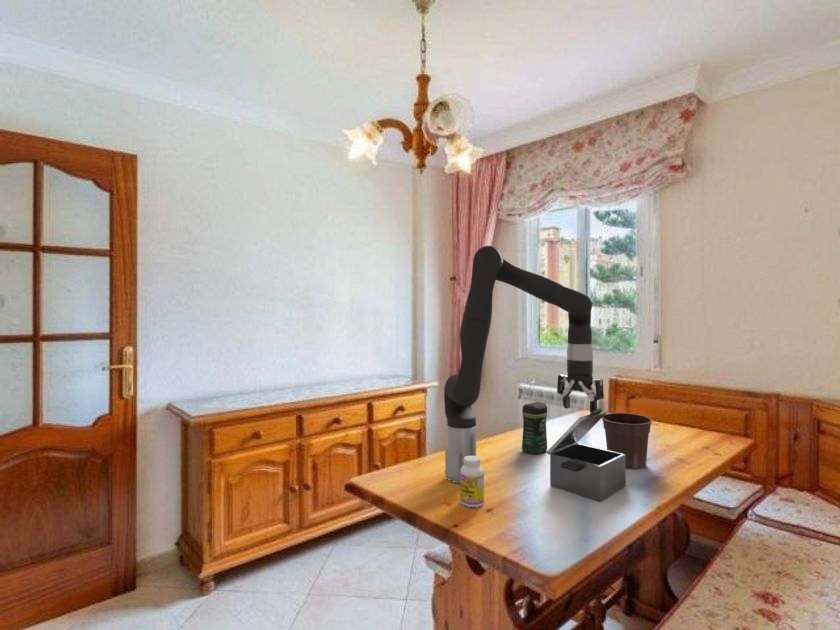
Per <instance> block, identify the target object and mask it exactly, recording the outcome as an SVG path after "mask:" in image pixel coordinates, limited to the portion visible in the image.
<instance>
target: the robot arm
mask: <svg viewBox="0 0 840 630" xmlns="http://www.w3.org/2000/svg"><path fill="white" fill-rule="evenodd" d="M471 271H472V273H471V281H470V287H469V291H468V295H467V298H466V302H465V306H464V310H463V314H462V319H461V325H460V329H459V344H460V352H461V353H460V354H461V355H460V356H461V361H460V366H459V371H458V373H456V374H453V375H451V376H450V377H448V379H447V380H446V381H445V384H444V389H443V391H444V394H443V397H444V398H443V400H444V414H445V418H446V422H447V425H446V427H447V428H446V433H447V436H446V439H447V444H446V445H447V446H446V447H447V448H446V449H445V452H444V455H445V457H444V458H445V459H444V460H445V461H444V465H445V467H444V468H445V470H444V474H445V478H447V479H450V480H452V481H455V482H457V483H456V484H458V483H460V470H461V468H462V466H464V465H465V464H464V457H466V456H477V418H476V416H475V415H476V414H474V412H473V409H472V405H474V404H475V402H477V400H478V398H479V396H480V392H481V385H482V384H481V383H482V372H483V371H482V370H483V364H484V358H485V354H486V348H487V343H488V338H489V333H490V329H491V325H492V316H493V295H494V294H493V293H494V288H495V283H496V281H498V282H502V283H505V284H506V285H507V284H508V285H510V286H512V287H515V288H517V289H519V290H521V291H522V292H525V293H526V294H529V295H530V296H533V297H535V298H536V299H539V300H541V301H543V302H544V303H545V302H546V303H548V304H551V305H554V306H556V307H557V308H559V309H561V310H564V312H567V315H568V318H567V319H568V329H567V347H566V372H567V375H566V374H559V375H558V376H557V386H556V387H557V389H556V392H557V394H559V395H561V396H562V406H563V407H564V409H566V410H568V409H570V408H571V396H570V395H571V394H572V393H573V391H574V392H581V393H585V395H587V397H588V398H589V400H590V401H589V414H590V413H591V412H592V411H594V410H598V401H599V400H603V399H604V398H605V397H604V396H605V395H604V380H603V379H602V378H599V379H595V378H593V373H594V371H593V370H594V367H593V365H594V359H593V358H594V354H593V335H592V334H593V332H592V331H593V330H592V327H591V326H592V325H591V324H592V323H591V322H592V321H591V320H592V308H593V301H592V299H591V298H590V297H589V296H588V295H586V294H585V293H583V292H580V291H577V290H574V289H573V288H569V287H567V286H565V285H563V284H562V283H561V282H560V283H559V282H557V281H556V280H553V279H551V278H549V277H546V276H544V275H542V274H538V273H535V272H533V271H529V270H525V269H522V268H520V267H519V266H516V265H513V263H511V262H509V261H507V260H506V259H504V258H503V256H502V255H501V252H500V251H499V250H498V249H497V248H495V247H494V246H492V245H484V246H481V247H480V248H479V249H478V250H476V252H475V253H474V256H473V259H472V269H471ZM566 382H567V386H566ZM592 385H593V386H594V387H595V389H594V387H593V386H592ZM447 479H446V480H447ZM450 480H449V481H450ZM452 481H451V482H452ZM455 482H454V483H455Z"/></svg>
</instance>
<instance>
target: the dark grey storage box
mask: <svg viewBox="0 0 840 630" xmlns="http://www.w3.org/2000/svg"><path fill="white" fill-rule="evenodd" d="M549 455H550V457H549V461H550V462H549V464H550V466H549V467H550V469H549V471H550V473H549V475H550V477H549V482H550V483H549V485H550V487H552V488H554V489H558V490H562V491H565V492H567V493H568V492H569V493H571V494H574V495H577V496H580V497H583V498H586V499H589V500H591V501H593V500H594V501H596V502H599V503H601V502H604V500H606V499H608V498H609V497H612V496H613V495H614V494H616V493H618V492H620V491H621V490H622V489H624V487H625V488H626V486H627V485H626V484H627V483H626V478H627V477H626V473H627V472H626V470H627V469H626V454H622V453H618V452H613V451H609V450H607V449H605V448H600V447H595V446H591V445H586V444H583V443H579V442H577V443H575V444H574V445H571V446H569V447H566V448H563V449H561V450H558V451H556V452H553V453H551V454H549Z"/></svg>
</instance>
